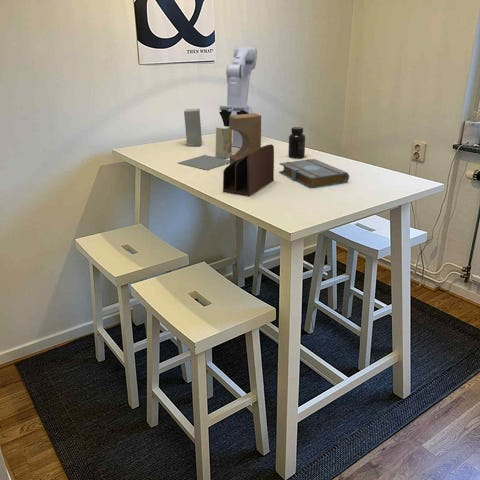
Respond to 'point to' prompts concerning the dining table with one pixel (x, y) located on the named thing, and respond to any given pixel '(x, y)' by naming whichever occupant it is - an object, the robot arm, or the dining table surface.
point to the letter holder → (250, 172)
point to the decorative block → (246, 133)
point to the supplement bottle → (296, 143)
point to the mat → (205, 162)
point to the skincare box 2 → (223, 142)
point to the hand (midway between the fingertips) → (233, 129)
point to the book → (314, 173)
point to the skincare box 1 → (193, 127)
